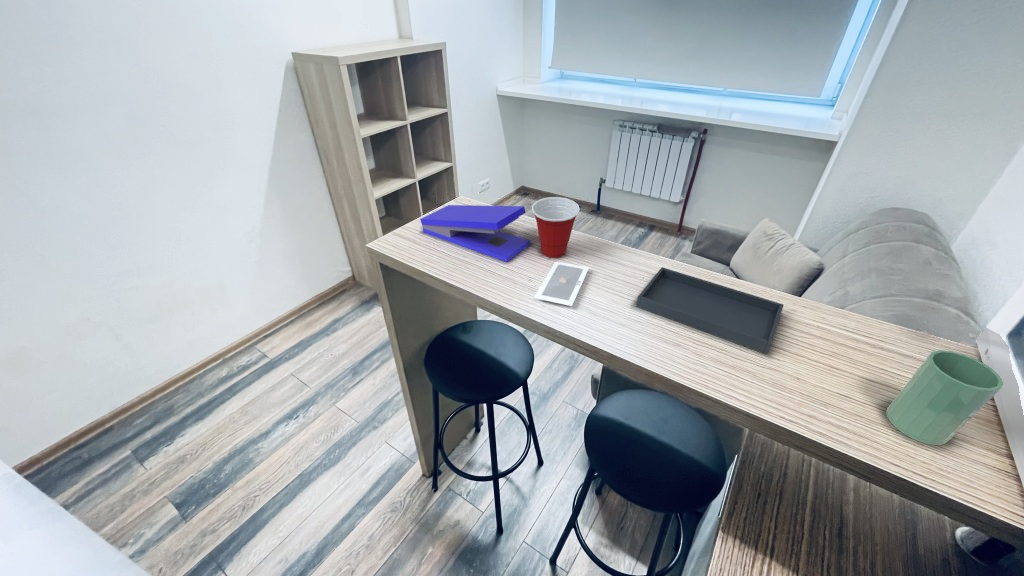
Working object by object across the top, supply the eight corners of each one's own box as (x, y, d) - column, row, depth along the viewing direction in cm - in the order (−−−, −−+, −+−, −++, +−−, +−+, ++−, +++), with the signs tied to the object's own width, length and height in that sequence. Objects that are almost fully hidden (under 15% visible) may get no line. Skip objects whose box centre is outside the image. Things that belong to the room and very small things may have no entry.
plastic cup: (528, 262, 95) (528, 215, 88) (533, 240, 104) (534, 195, 97) (575, 265, 93) (579, 218, 86) (576, 243, 102) (580, 198, 95)
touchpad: (533, 302, 82) (533, 293, 81) (555, 265, 94) (555, 257, 92) (571, 310, 80) (572, 301, 79) (588, 271, 91) (589, 263, 90)
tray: (779, 314, 78) (783, 304, 76) (766, 354, 69) (771, 343, 68) (659, 276, 89) (661, 266, 88) (636, 306, 80) (638, 296, 79)
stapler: (505, 263, 95) (503, 224, 89) (420, 232, 108) (414, 197, 103) (531, 243, 102) (532, 206, 97) (449, 217, 116) (445, 183, 110)
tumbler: (961, 438, 55) (1017, 383, 49) (923, 450, 54) (976, 395, 48) (909, 400, 61) (954, 346, 55) (874, 410, 59) (915, 356, 53)
